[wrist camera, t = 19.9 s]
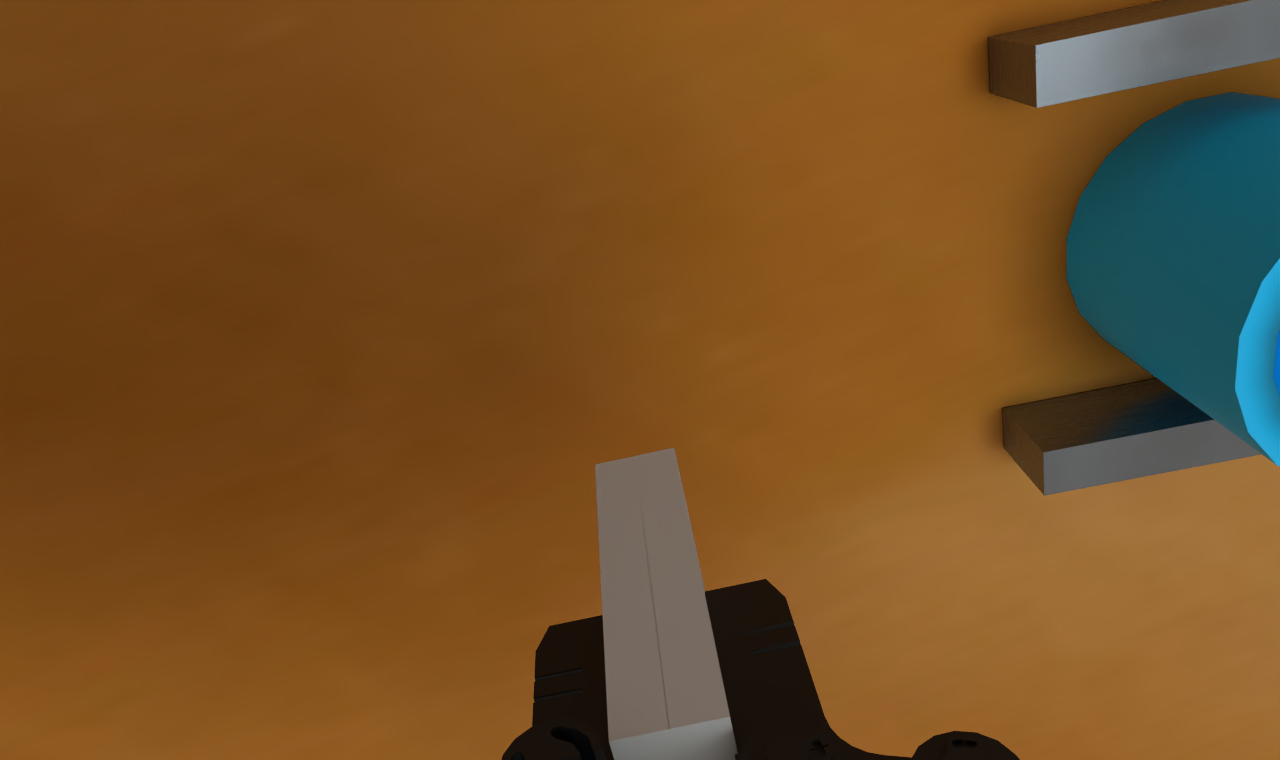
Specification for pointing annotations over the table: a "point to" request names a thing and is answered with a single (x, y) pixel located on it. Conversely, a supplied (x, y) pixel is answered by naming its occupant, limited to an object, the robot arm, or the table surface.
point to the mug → (1192, 258)
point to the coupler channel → (1084, 67)
